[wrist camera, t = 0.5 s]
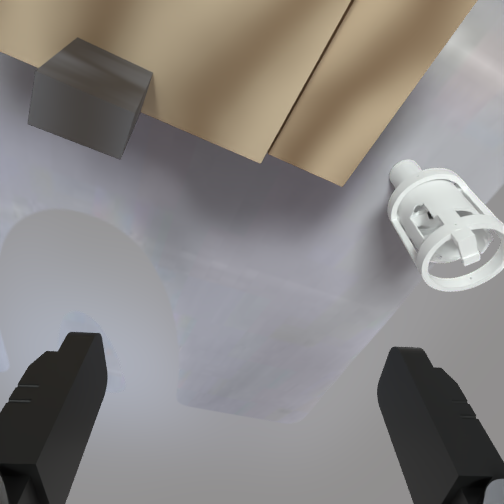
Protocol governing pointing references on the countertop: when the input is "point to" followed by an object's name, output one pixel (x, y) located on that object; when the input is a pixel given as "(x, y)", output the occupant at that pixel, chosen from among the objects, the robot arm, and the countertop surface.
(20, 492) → the robot arm
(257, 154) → the lid flap
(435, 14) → the carton
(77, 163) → the countertop surface
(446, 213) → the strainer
